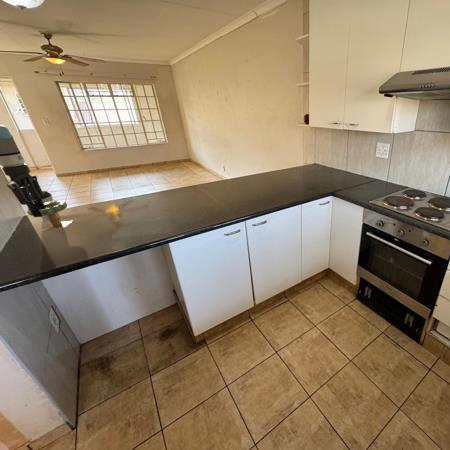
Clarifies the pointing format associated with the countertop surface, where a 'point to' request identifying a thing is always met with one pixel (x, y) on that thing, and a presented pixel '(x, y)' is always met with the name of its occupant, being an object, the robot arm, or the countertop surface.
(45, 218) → the coffee cup
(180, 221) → the countertop surface
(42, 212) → the hang ring
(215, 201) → the countertop surface
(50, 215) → the stand
